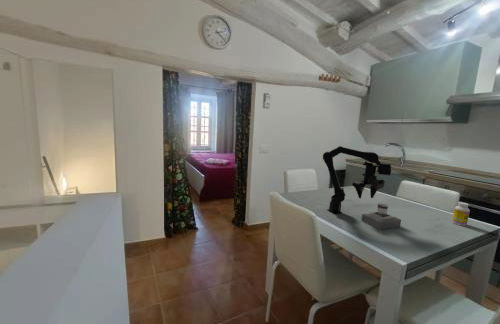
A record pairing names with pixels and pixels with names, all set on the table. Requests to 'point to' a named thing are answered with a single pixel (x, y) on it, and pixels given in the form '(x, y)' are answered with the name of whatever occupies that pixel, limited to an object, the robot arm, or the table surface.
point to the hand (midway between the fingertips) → (365, 198)
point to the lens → (382, 210)
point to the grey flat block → (381, 221)
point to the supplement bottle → (461, 214)
